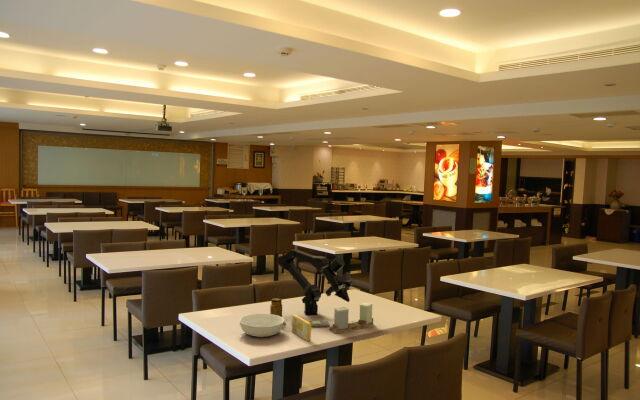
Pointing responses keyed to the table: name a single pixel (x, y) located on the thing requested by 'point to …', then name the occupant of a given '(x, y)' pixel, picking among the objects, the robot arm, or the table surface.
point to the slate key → (341, 317)
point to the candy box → (301, 327)
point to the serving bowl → (261, 324)
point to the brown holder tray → (351, 326)
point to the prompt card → (319, 324)
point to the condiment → (276, 307)
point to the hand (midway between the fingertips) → (348, 301)
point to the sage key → (366, 312)
